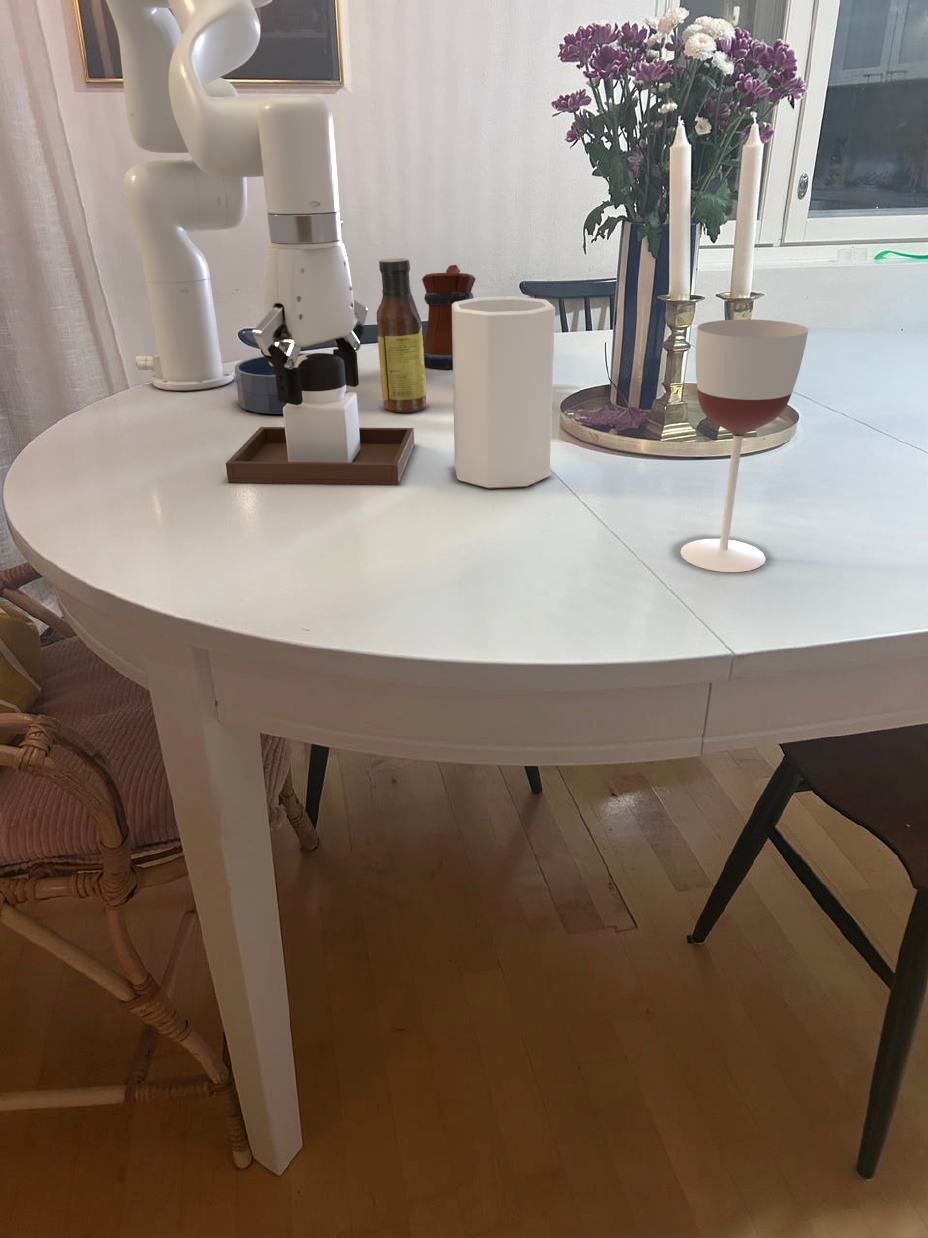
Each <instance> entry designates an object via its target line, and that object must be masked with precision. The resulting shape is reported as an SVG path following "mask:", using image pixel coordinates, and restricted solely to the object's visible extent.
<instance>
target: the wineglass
mask: <svg viewBox="0 0 928 1238" xmlns="http://www.w3.org/2000/svg"><path fill="white" fill-rule="evenodd" d="M808 333H809V329H808V327H806V326H804V325H801V324H797V323H792V322H787V321H780V320H769V319H723V320H713V321H708V322H704V323H700V324H699V325H698V326H697V328H696V339H695V351H694V352H695V353H694V356H695V378H696V389H697V390H696V391H697V397H698V398H697V399H698V403H699V407H700V409H701V411H702V413H703V414H704V415H705V416H706V417H707V418H708V419H709V420H710V421H711V422H713V423H714V424H715V425H718V426H719V427H721V428H722V429H724V430H726V431H727V432H729V433H731V434H732V435H733V436H732V437H733V438H732V444H731V446H732V447H731V452H730V453H731V454H730V460H729V468H728V476H727V483H726V491H725V497H724V498H725V500H724V508H723V515H722V522H721V530H720V538H704V539H703V538H702V539H697V540H693V541H690V542H688V543H686V544H684V545H682V546H681V549H680V552H679V553H680V555H681V558H682V559H683V560H685V561H686V562H687V563H689V564H691V565H693V566H696V567H697V568H701V569H704V570H707V571H708V570H709V571H713V572H714V571H715V572H719V573H743V572H749V571H752V570H756V569H759V568H760V567H761V566H763V565H765V563H766V560H767V559H766V556H765V554H764V552H763V551H761V550H760V549H758V548H757V547H755V546H753V545H750V544H748V543H746V542H740V541H737V540H732V539H730V535H731V527H732V520H733V512H734V504H735V497H736V489H737V484H738V483H737V482H738V474H739V466H740V461H741V452H742V445H743V444H742V443H743V437H744V435H746V434H747V433H750V432H752V431H754V430H757V429H759V428H762V427H764V426H766V425H767V424H768V425H769V424H770V423H771V422H774V421H775V420H776V419H777V418H778V417H779V416H781V415H782V413H783V412H784V411H785V410H786V408H787V406H788V404H789V402H790V399H791V396H792V394H793V391H794V388H795V386H796V383H797V379H798V377H799V373H800V369H801V366H802V362H803V357H804V354H805V349H806V345H807V340H808Z"/></svg>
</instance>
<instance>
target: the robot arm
mask: <svg viewBox="0 0 928 1238" xmlns="http://www.w3.org/2000/svg"><path fill="white" fill-rule="evenodd" d="M105 2H106V5H107V7H108V10H109V13H110V15H111V18H112V21H113V23H114V26H115V30H116V32H117V38H118V44H119V52H120V64H121V73H122V83H123V91H124V102H125V110H126V111H125V112H126V119H127V123H128V129H129V132H130V135H131V138H132V139H133V141H134V143H135V144H136V145H137V146H138V147H139V148H140V149H143V150H144V151H148V152H151V153H160V154H162V153H163V154H165V153H166V154H177V153H178V154H185V153H186V154H187V153H188V154H189V155H190V158H191V160H190V159H189V160H187V159H186V160H184V159H174V160H172V159H171V160H169V159H168V160H151V161H150V160H149V161H144V162H141V163H140V162H139V163H137V164H134V166H132V167H130V168H129V169H128V171H126V173H125V175H124V176H123V177H124V178H123V182H122V190H123V196H124V200H125V204H126V208H127V210H128V213H129V217H130V220H131V223H132V226H133V229H134V232H135V236H136V240H137V244H138V249H139V252H140V258H141V263H142V268H143V269H142V270H143V274H144V280H145V285H146V292H147V298H148V303H149V309H150V315H151V322H152V327H153V332H154V338H155V344H156V349H157V350H156V351H157V353H155V354H154V355H152V356H150V355H136V356H135V359H134V362H135V366H136V368H137V369H138V370H139V371H148V370H151V371H153V372H154V375H153V376H152V377H151V380H152V381H151V382H152V385H153V386H154V387H155V388H157V389H160V390H165V391H166V390H167V391H196V390H197V391H198V390H207V389H212V388H217V387H221V386H225V385H227V384H229V383H231V382H233V380H234V379H235V376H234V371H233V370H232V369H230V368H228V367H223V362H222V354H221V347H220V340H219V332H218V325H217V318H216V311H215V304H214V303H215V302H214V296H213V289H212V282H211V274H210V267H209V264H208V261H207V259H206V257H205V256H204V253H202V251H201V250H200V249H199V248H198V247H197V246H196V245H195V244H194V242H192V241H191V240H190V238H189V237H188V234H189V233H194V232H205V231H220V230H231V229H234V228H238V227H239V226H240V225H242V224H243V223H244V221H245V219H246V216H247V212H248V178H257V177H263V185H264V193H265V194H264V195H265V203H266V212H267V222H268V223H267V224H268V231H269V241H270V247H266V248H265V253H264V261H263V262H264V264H263V307H264V308H263V309H264V318H263V319H262V320H261V321H260V322H259V323H258V324H257V325H256V326H255V327H254V328H253V330H252V336H253V339H254V340H255V342H256V344H257V345H258V347H259V349H260V353H261V356H264V357H265V358H266V359H267V360H268V361H269V364H270V365H271V366H273V367H275V375H276V384H277V393H278V400H279V401H280V402H282V403H288V404H293V405H300V404H302V402H303V398H302V388H301V378H300V370H299V368H296V367H294V366H295V363H296V361H297V358H298V356H299V353H301V351H302V348H305V347H310V346H315V345H318V344H322V343H325V342H330V341H331V342H332V343H333V344H334V345H335V347H336V348H334V349H332V354H334V355H336V356H338V357H341V358H342V359H343V361H344V368H345V381H346V387H351V388H352V387H353V388H356V387H358V386H359V384H360V380H359V363H358V352H359V350H360V349H361V342H360V341H361V339H362V337H363V335H364V333H365V327H364V326H365V323H366V319H367V314H368V308H367V307H366V305H363V304H362V303H360V302H358V301H357V300H355V299H354V291H353V283H352V277H351V271H350V265H349V260H348V256H347V252H346V249H345V243H344V242H343V240H342V238H343V237H342V226H343V221H342V218H341V212H340V209H341V208H340V196H339V195H340V194H339V180H338V166H337V153H336V141H335V125H334V117H333V111H332V108H331V106H330V104H329V103H328V102H327V101H326V100H325V99H323V98H320V97H316V96H273V97H263V96H240V94H239V93H238V90H237V89H236V88H235V87H234V85H233V84H232V83H231V82H230V81H229V80H227V79H225V78H223V76H226V75H227V74H229V73H231V72H233V71H234V70H236V69H238V68H239V67H241V66H243V65H244V64H246V63H247V62H248V61H249V60H250V58H252V56H253V55H254V53H255V52H256V50H257V48H258V46H259V43H260V39H261V23H260V19H259V16H258V14H257V11H256V9H258V8H261V7H265V6H267V5H269V4H270V3H272V2H273V0H105ZM170 9H171V11H172V12H171V11H170ZM287 348H288V349H287ZM286 350H287V352H286V353H285V351H286Z"/></svg>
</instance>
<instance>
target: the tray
mask: <svg viewBox="0 0 928 1238" xmlns="http://www.w3.org/2000/svg"><path fill="white" fill-rule="evenodd" d="M359 434H360V451H359V452H358V454H357V455H356V457H355V458H354V460H353V461H352V463H345V462H289V461H288V452H287V443H286V434H285V426H260V427H259V428H258V429H257V430H256V431H255V432H254V433H253V435H252V434H251V436H250V437H249V438H248V439H247V440H246V441H245V442H244V443H243V445H242V446H241V447H239V449H238V450H236V451H235V453H233V455H232V456H231V457H230V458H229V459H228V460H227V461H226V462H225V470H226V475H227V483H229V484H230V483H231V484H234V483H235V484H239V483H240V484H244V483H246V484H309V485H310V484H311V485H312V484H314V485H316V484H319V485H320V484H321V485H323V484H324V485H394V486H395V485H399V484H400V482H401V479H402V477H403V475H404V472H405V470H406V467H407V465H408V463H409V460H410V458H411V455H412V453H413V450H414V448H415V428H414V427H359Z"/></svg>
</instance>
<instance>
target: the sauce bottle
mask: <svg viewBox="0 0 928 1238" xmlns="http://www.w3.org/2000/svg"><path fill="white" fill-rule="evenodd" d="M378 266H379V272H380V274H381V285H382V290H381V292H382V297H381V301H380V304H379V306H378V308H377V310H376V313H375V314H376V324H377V325H376V327H377V344H378V345H377V347H378V356H379V357H378V358H379V369H380V370H379V371H380V382H381V393H382V399H383V406H384V409H386V410H388V411H389V412H394V413H413V412H416V411H420V410H422V409H425V407H426V405H427V380H426V366H425V364H424V350H423V349H424V348H423V340H424V335H423V323H422V320H421V316H420V314H419V311H418V309H417V305H416V302H415V300H414V298H413V294H412V292H411V291H412V289H411V284H410V283H411V281H410V271H411V264H410V260H409V259H408V258H405V257H404V258H402V257H401V258H399V257H398V258H396V257H395V258H385V259H380V260H379V261H378Z"/></svg>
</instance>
